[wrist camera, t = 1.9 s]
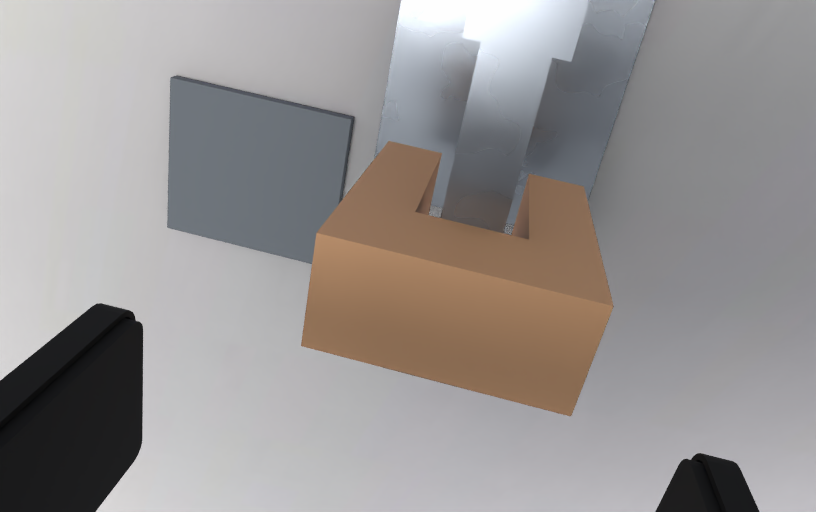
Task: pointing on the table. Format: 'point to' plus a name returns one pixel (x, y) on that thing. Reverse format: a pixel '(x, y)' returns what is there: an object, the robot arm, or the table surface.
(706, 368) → the table surface
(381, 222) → the c link
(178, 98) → the mat
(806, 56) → the table surface
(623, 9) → the stand
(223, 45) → the table surface
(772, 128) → the table surface
